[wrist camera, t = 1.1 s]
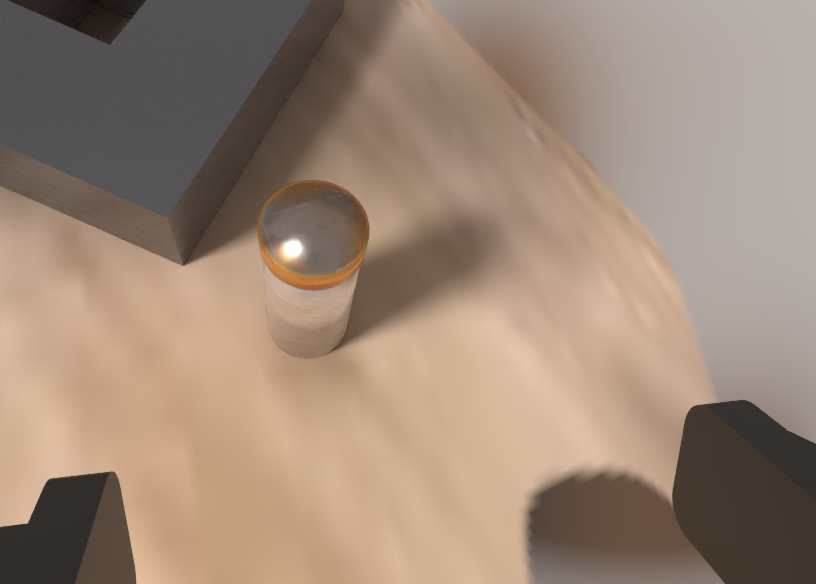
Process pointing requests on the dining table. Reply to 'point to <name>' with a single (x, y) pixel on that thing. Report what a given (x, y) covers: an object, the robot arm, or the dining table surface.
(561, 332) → the dining table surface
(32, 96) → the block
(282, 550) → the dining table surface
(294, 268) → the pin
